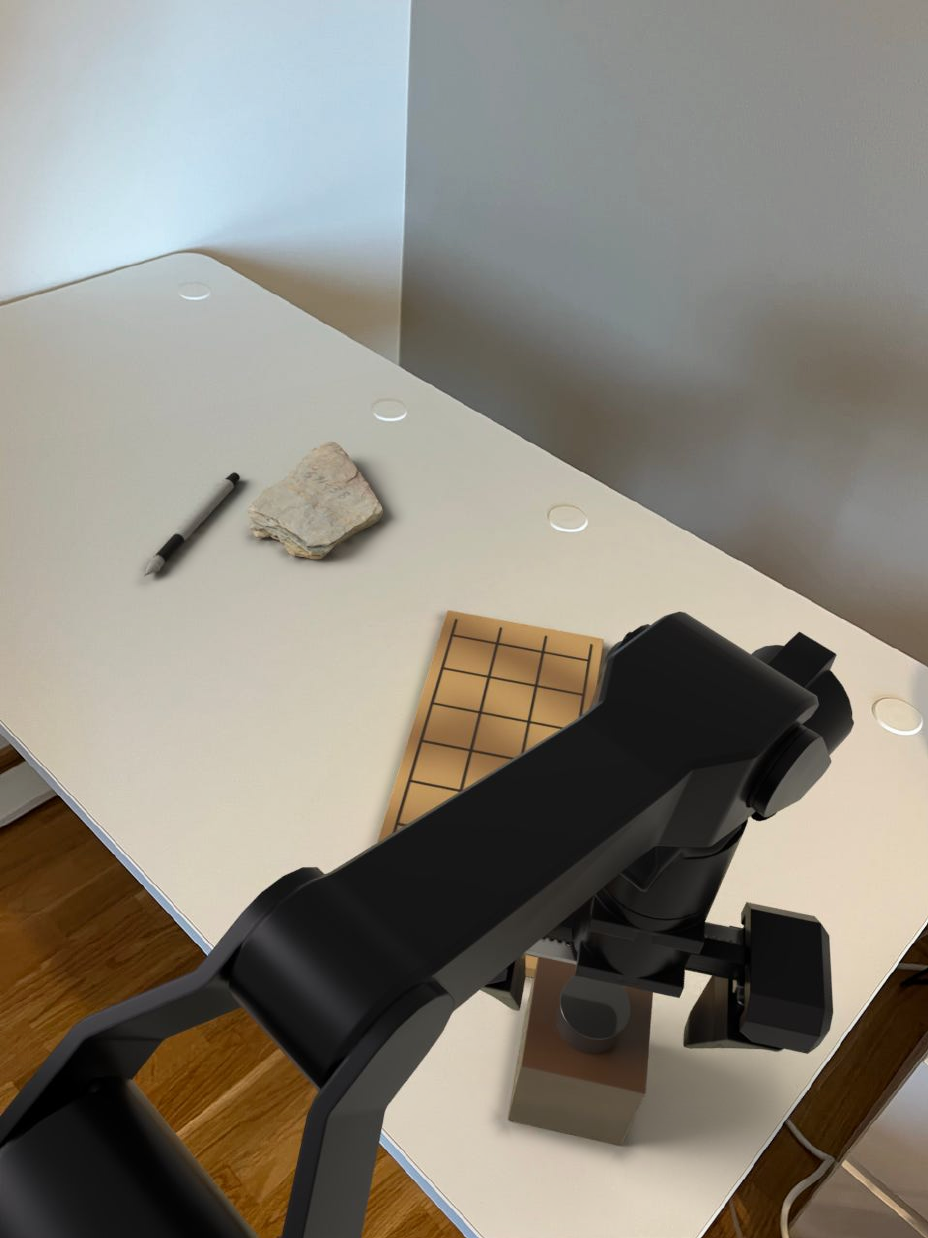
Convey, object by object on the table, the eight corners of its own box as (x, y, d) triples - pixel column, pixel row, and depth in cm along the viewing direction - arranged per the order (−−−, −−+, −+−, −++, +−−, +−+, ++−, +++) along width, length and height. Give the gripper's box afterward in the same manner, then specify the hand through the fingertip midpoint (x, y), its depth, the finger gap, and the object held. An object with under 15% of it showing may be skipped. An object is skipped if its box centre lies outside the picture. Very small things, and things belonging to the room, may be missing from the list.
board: (552, 982, 72) (555, 973, 71) (350, 938, 73) (350, 929, 72) (601, 648, 94) (604, 637, 93) (446, 619, 96) (447, 609, 95)
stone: (327, 456, 112) (327, 436, 110) (411, 493, 108) (412, 472, 106) (233, 529, 102) (231, 508, 101) (322, 572, 99) (321, 551, 97)
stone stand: (621, 1147, 64) (645, 1094, 59) (507, 1120, 65) (520, 1066, 59) (631, 1035, 69) (654, 977, 64) (525, 1012, 70) (538, 952, 64)
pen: (242, 482, 108) (241, 472, 107) (151, 583, 96) (149, 573, 95) (230, 479, 108) (229, 468, 107) (139, 579, 97) (136, 568, 96)
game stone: (621, 1061, 60) (627, 1046, 59) (550, 1046, 60) (555, 1030, 59) (627, 995, 63) (633, 979, 61) (560, 981, 63) (564, 964, 62)
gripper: (862, 758, 51) (774, 923, 62) (479, 685, 53) (460, 858, 64) (880, 971, 43) (777, 1117, 54) (431, 877, 45) (419, 1037, 56)
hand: (601, 1020), depth 57 cm, fingers open, 9 cm apart
